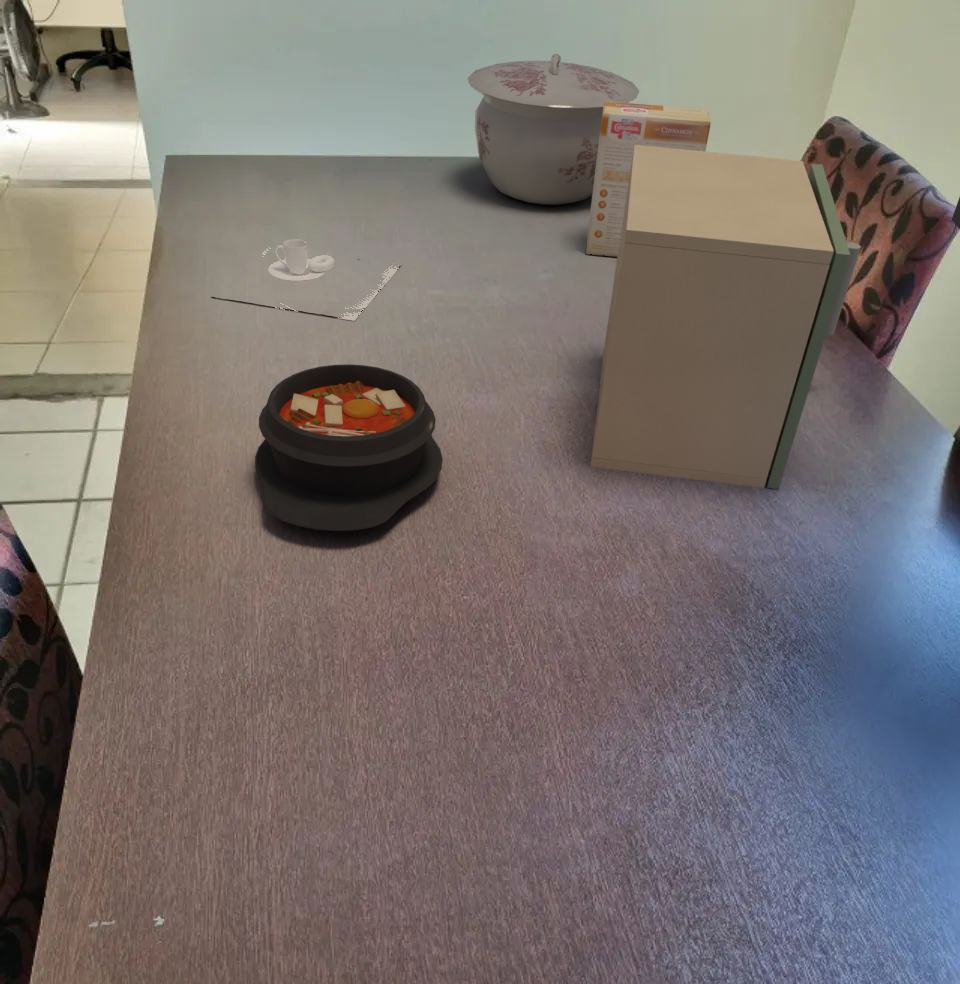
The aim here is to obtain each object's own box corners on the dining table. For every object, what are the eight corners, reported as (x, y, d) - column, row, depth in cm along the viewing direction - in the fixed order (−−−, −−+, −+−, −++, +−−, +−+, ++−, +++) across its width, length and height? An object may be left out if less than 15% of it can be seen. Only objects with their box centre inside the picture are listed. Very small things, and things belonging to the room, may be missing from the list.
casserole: (419, 559, 88) (420, 480, 83) (220, 534, 90) (208, 455, 84) (459, 423, 107) (462, 351, 101) (293, 404, 108) (287, 332, 102)
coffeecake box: (682, 247, 150) (709, 107, 137) (685, 264, 145) (712, 121, 132) (586, 238, 151) (603, 98, 138) (585, 255, 146) (603, 111, 133)
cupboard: (748, 372, 120) (803, 160, 103) (764, 489, 100) (834, 250, 84) (603, 356, 121) (634, 144, 105) (590, 467, 102) (626, 229, 85)
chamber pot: (514, 229, 152) (526, 80, 138) (435, 176, 169) (438, 39, 155) (658, 208, 163) (682, 68, 149) (570, 160, 180) (583, 31, 166)
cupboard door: (814, 379, 119) (879, 170, 103) (836, 497, 100) (920, 262, 83) (756, 372, 120) (811, 163, 103) (766, 488, 100) (836, 252, 84)
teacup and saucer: (340, 267, 137) (338, 238, 134) (319, 288, 131) (317, 258, 129) (282, 258, 139) (279, 229, 136) (259, 279, 133) (255, 249, 130)
